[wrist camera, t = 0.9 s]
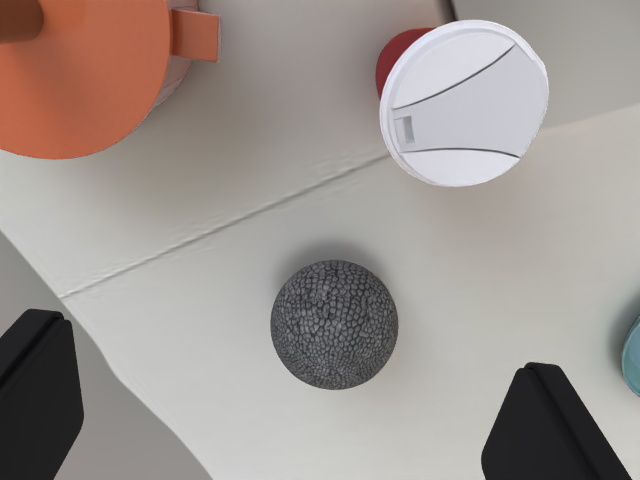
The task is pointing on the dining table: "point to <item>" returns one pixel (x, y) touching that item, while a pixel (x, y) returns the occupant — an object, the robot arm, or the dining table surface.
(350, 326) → the decorative ball
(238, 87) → the dining table surface
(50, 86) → the lid
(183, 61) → the orange cooking pot
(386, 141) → the paper cup
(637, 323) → the saucer
